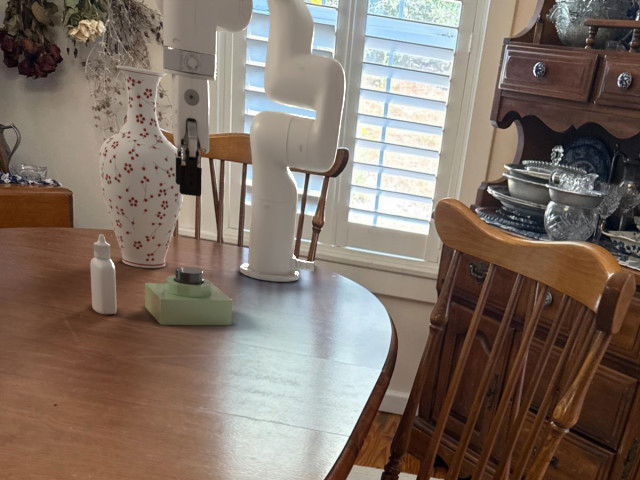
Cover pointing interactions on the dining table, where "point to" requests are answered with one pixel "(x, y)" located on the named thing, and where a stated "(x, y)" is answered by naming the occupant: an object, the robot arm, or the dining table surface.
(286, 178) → the robot arm
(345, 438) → the dining table surface
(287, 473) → the dining table surface
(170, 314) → the button base
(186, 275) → the dark grey button cap
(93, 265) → the eye dropper bottle
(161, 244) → the vase
